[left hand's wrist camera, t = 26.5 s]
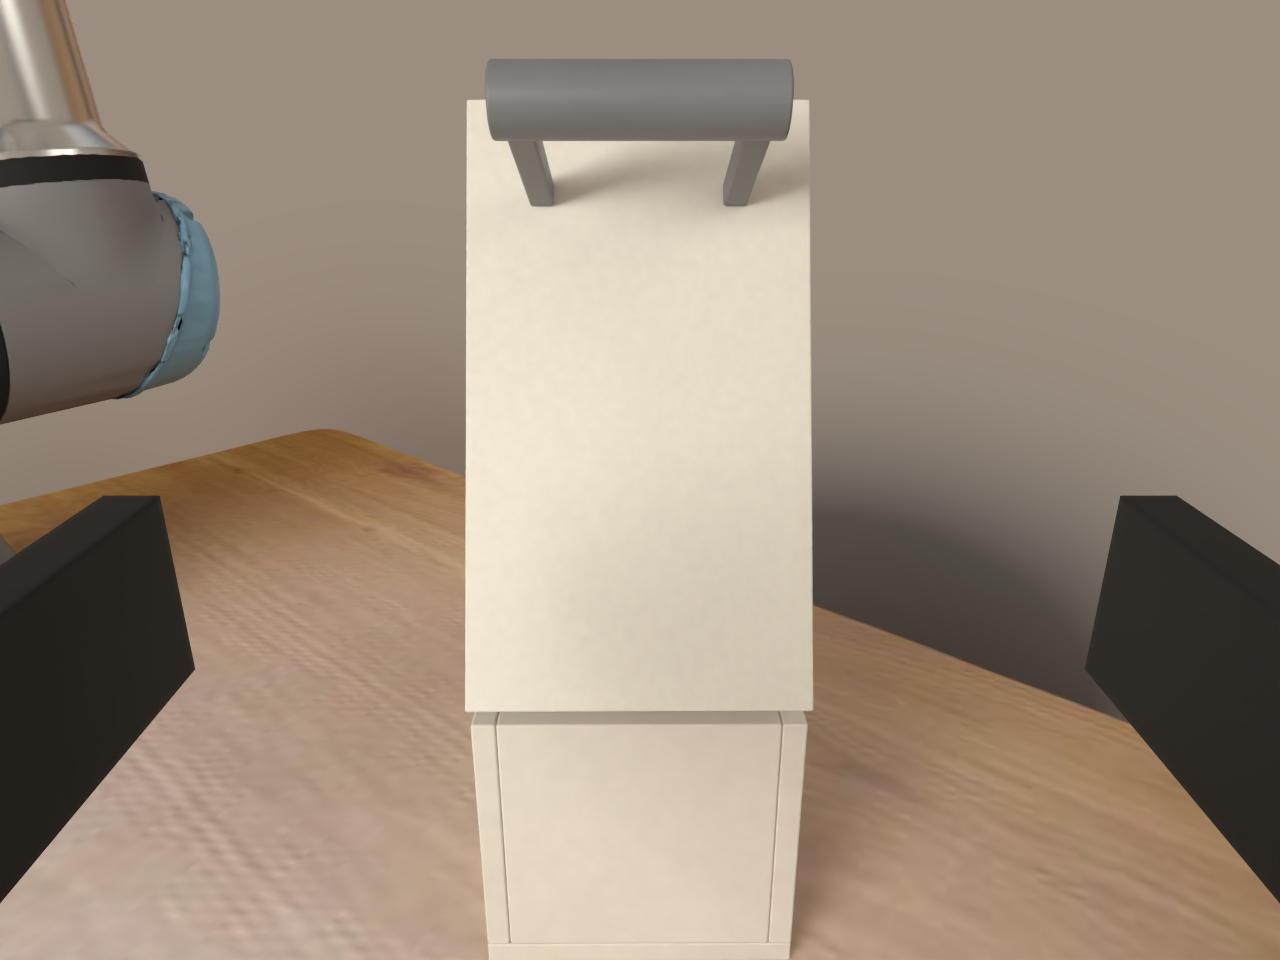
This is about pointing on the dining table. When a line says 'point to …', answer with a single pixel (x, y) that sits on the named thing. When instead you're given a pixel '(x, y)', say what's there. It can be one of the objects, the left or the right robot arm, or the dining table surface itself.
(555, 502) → the lid
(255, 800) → the dining table surface
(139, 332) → the right robot arm
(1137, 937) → the dining table surface
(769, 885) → the chest
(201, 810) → the dining table surface
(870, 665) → the dining table surface
